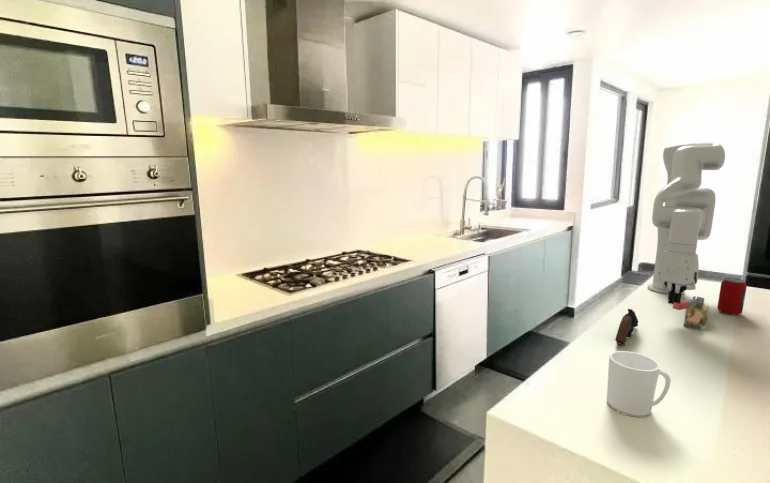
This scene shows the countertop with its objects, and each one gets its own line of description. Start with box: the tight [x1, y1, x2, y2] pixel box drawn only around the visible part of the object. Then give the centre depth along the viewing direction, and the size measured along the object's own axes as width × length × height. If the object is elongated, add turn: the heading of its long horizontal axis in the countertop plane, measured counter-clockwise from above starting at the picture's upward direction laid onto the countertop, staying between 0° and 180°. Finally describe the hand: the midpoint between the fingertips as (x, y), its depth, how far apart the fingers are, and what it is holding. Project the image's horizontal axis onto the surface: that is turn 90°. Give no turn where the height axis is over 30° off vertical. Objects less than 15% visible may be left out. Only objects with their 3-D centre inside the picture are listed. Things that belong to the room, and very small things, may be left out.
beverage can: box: [716, 277, 747, 316], centre depth 141 cm, size 7×7×12 cm
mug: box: [606, 350, 672, 418], centre depth 84 cm, size 11×9×10 cm
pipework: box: [683, 303, 709, 331], centre depth 134 cm, size 22×5×5 cm, turn 138°
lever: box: [672, 296, 705, 311], centre depth 131 cm, size 13×3×3 cm, turn 114°
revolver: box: [615, 308, 639, 346], centre depth 121 cm, size 3×18×12 cm
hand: (673, 303), depth 132 cm, fingers closed
